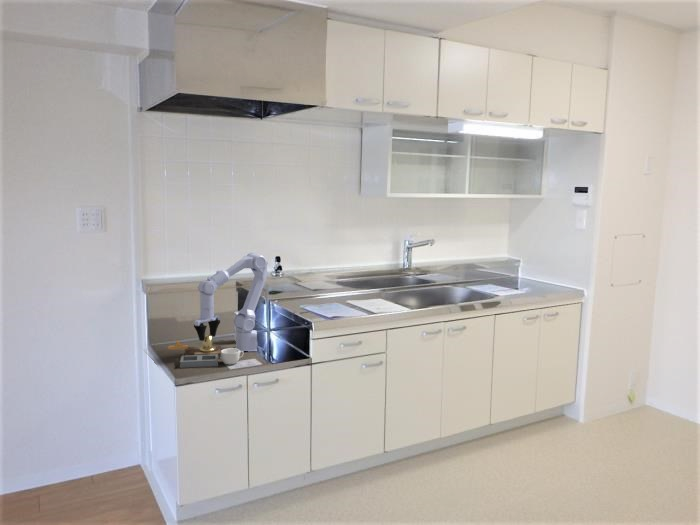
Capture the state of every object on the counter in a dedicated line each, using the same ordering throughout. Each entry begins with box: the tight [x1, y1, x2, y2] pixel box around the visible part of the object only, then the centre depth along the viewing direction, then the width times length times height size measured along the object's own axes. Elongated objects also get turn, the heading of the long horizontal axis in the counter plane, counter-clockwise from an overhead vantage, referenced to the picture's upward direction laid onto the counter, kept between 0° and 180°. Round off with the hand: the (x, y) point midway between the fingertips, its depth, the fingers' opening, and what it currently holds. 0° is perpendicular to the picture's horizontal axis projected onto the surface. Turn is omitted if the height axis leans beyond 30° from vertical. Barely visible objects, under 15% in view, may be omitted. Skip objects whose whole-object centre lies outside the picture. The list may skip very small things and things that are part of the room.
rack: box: [179, 354, 219, 369], centre depth 241 cm, size 15×8×2 cm, turn 102°
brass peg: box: [199, 333, 216, 352], centre depth 252 cm, size 7×7×9 cm
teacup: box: [220, 347, 245, 365], centre depth 243 cm, size 10×8×5 cm
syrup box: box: [233, 311, 239, 342], centre depth 274 cm, size 6×6×14 cm
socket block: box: [184, 345, 222, 360], centre depth 252 cm, size 15×11×4 cm
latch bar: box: [167, 340, 189, 350], centre depth 249 cm, size 8×2×3 cm, turn 102°
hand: (207, 338), depth 251 cm, fingers open, 7 cm apart
